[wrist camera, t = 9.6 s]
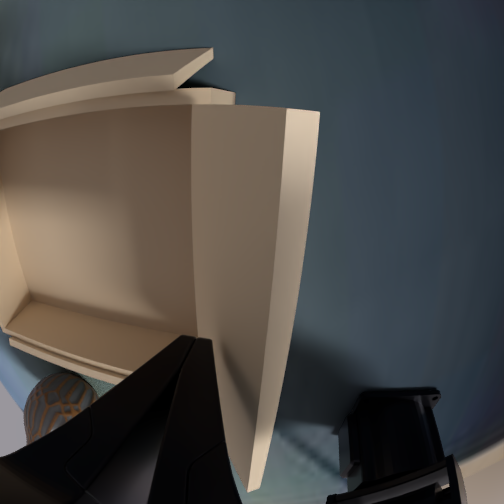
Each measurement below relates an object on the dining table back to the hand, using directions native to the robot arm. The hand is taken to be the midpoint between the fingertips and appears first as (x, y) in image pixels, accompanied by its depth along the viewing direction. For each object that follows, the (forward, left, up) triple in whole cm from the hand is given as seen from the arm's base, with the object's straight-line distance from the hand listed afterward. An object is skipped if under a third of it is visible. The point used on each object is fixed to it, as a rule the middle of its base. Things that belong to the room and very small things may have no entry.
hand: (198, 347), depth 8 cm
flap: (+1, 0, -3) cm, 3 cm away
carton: (+8, 0, -7) cm, 11 cm away
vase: (+14, +16, -7) cm, 23 cm away
